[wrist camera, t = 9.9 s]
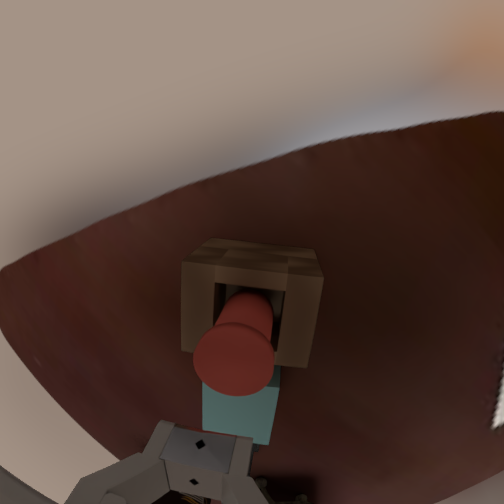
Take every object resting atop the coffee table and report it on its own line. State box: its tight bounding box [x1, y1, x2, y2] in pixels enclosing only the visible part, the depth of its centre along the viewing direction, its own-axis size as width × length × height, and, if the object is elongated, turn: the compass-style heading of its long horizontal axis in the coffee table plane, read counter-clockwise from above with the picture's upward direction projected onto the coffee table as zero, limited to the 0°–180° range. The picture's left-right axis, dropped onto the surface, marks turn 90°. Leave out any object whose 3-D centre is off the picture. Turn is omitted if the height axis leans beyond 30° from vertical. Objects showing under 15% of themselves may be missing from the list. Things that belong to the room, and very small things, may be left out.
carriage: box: [203, 365, 281, 445], centre depth 22 cm, size 5×6×6 cm
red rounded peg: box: [193, 289, 275, 396], centre depth 16 cm, size 4×4×6 cm
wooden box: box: [181, 238, 324, 368], centre depth 21 cm, size 8×6×7 cm
